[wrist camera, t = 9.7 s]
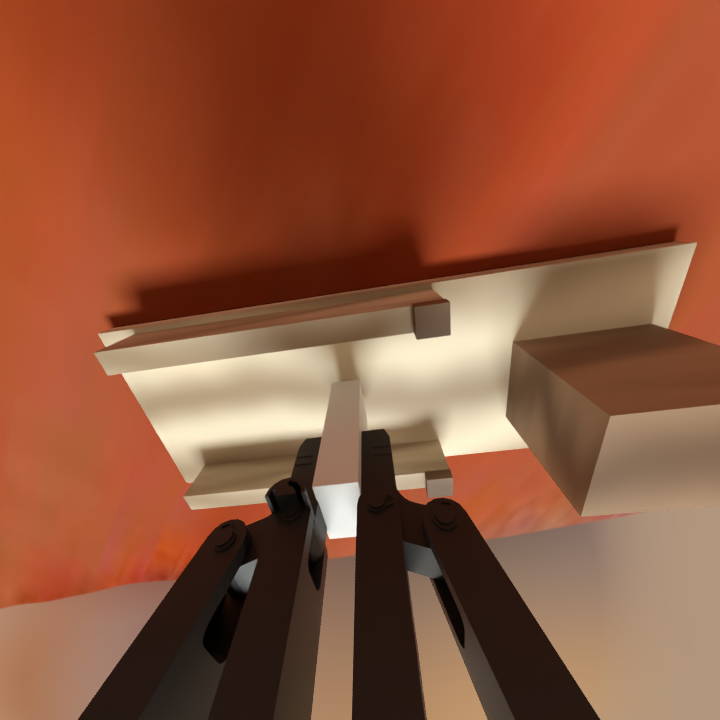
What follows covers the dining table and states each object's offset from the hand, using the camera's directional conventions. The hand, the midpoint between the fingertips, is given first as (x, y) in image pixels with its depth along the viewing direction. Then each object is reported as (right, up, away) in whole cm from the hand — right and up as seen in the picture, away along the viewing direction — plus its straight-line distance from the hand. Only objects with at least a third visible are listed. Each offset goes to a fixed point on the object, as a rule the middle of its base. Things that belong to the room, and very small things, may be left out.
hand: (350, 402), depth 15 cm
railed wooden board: (+2, +1, +2) cm, 3 cm away
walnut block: (+13, +2, 0) cm, 13 cm away
